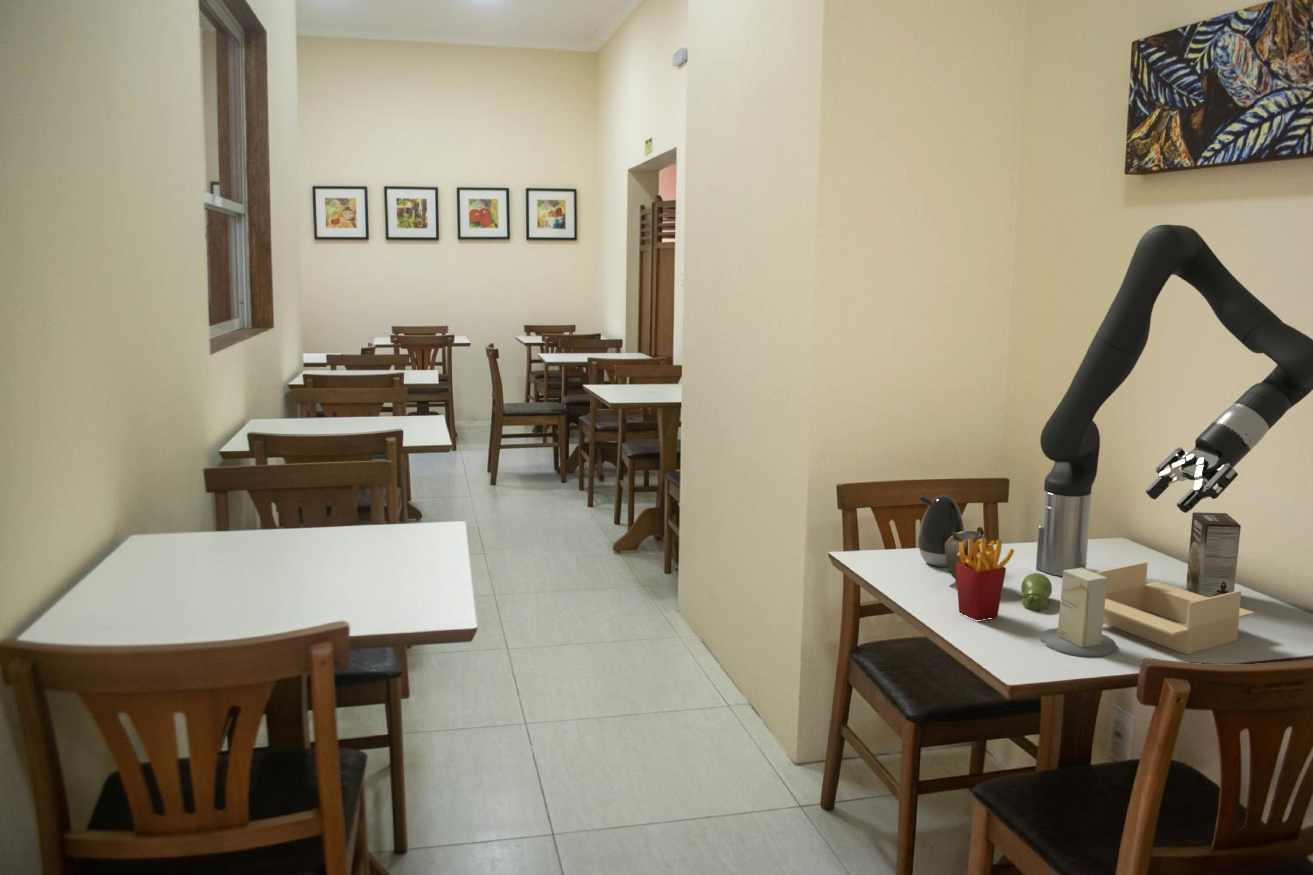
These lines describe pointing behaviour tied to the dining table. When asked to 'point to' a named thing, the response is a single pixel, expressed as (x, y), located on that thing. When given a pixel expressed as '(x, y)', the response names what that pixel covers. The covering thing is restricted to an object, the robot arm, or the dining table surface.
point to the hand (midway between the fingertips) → (1164, 502)
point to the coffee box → (1212, 554)
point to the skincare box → (1082, 607)
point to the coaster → (1069, 648)
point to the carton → (1169, 611)
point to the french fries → (980, 579)
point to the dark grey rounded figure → (938, 528)
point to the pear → (1036, 591)
